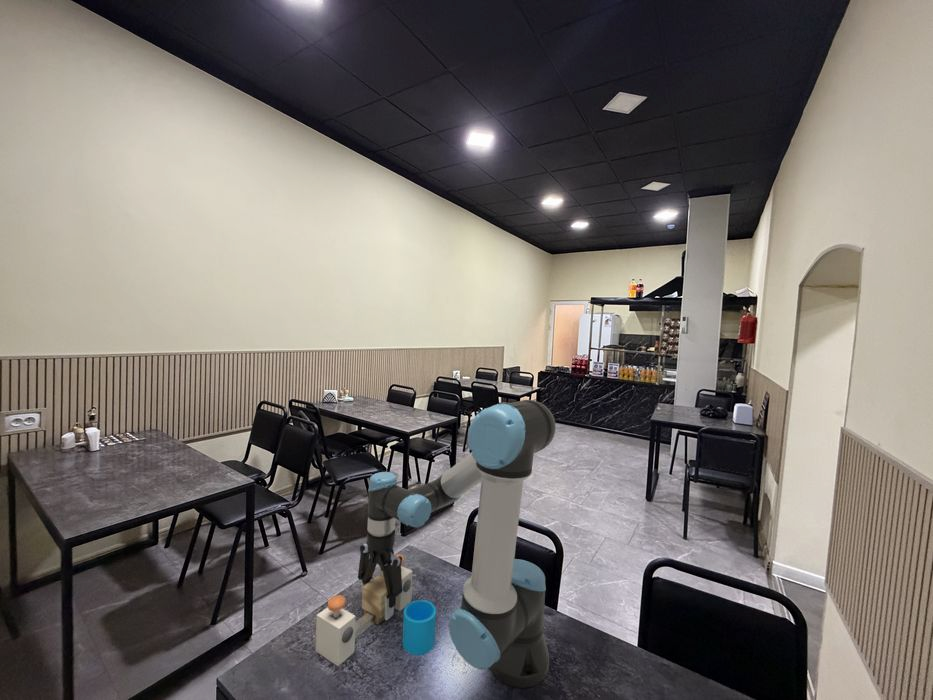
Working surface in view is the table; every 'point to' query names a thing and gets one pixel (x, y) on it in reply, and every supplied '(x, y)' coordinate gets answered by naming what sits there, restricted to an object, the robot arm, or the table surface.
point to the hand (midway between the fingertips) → (378, 611)
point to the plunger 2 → (402, 558)
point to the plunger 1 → (336, 605)
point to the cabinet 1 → (335, 635)
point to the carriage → (375, 598)
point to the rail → (364, 623)
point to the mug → (419, 627)
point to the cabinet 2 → (403, 589)
